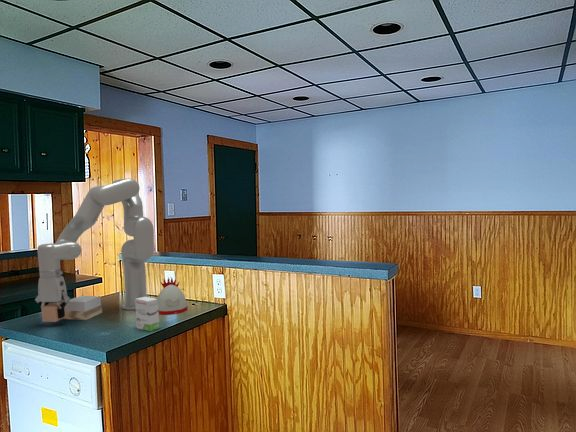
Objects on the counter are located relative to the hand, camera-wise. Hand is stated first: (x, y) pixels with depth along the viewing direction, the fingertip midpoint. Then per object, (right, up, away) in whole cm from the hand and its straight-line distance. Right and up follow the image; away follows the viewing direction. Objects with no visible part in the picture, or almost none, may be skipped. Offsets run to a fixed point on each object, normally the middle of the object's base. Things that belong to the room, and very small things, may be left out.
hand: (54, 317), depth 172 cm
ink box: (+41, -3, -8) cm, 42 cm away
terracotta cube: (0, -1, 0) cm, 1 cm away
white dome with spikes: (+43, -1, +17) cm, 47 cm away
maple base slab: (+6, -3, +13) cm, 14 cm away
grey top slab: (+6, +1, +12) cm, 14 cm away
